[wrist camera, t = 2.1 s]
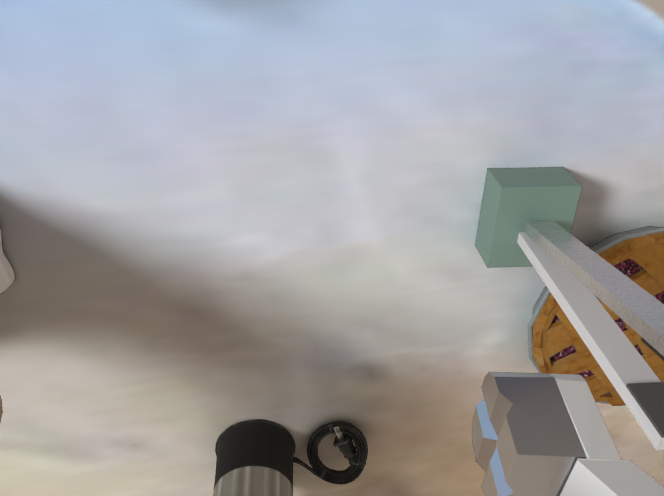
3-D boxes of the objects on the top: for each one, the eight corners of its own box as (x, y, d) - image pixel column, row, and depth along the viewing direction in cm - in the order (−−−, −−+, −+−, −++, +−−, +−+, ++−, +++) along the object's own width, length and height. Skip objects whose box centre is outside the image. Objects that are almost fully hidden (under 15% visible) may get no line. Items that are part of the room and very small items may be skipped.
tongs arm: (551, 234, 52) (727, 377, 32) (524, 235, 52) (683, 378, 31) (553, 220, 52) (732, 356, 31) (526, 221, 51) (688, 358, 31)
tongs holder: (545, 243, 59) (719, 476, 36) (475, 245, 58) (605, 482, 35) (563, 167, 55) (772, 374, 31) (487, 168, 54) (644, 380, 31)
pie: (584, 410, 72) (604, 443, 67) (477, 308, 62) (492, 339, 58) (757, 301, 65) (791, 330, 61) (666, 169, 56) (698, 193, 52)
